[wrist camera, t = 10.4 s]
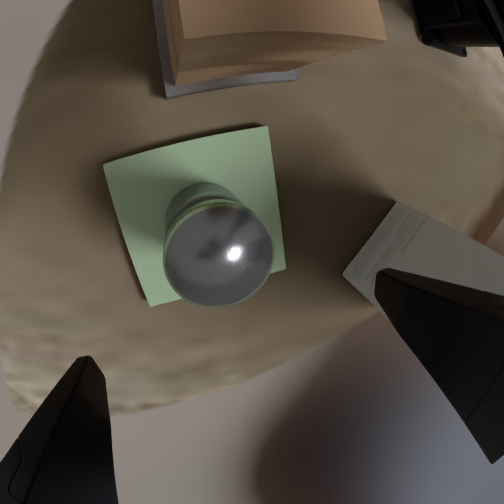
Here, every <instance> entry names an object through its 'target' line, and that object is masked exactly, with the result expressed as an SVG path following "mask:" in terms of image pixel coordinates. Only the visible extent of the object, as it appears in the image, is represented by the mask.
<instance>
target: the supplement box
mask: <svg viewBox="0 0 504 504" xmlns="http://www.w3.org/2000/svg"><path fill="white" fill-rule="evenodd" d="M384 268H392V269H396V270H401V271H405V272H409V273H413V274H417V275H422V276H426V277H430V278H434V279H438V280H442V281H446V282H450V283H454V284H458V285H463V286H467V287H471V288H475V289H479V290H482V291H487V292H491V293H495V294H499V295H503V296H504V257H503V256H501V255H500V254H498V253H496V252H494V251H493V250H491V249H489V248H487V247H486V246H484V245H483V244H481V243H479V242H477V241H475V240H473V239H472V238H470V237H468V236H466V235H464V234H462V233H461V232H459V231H457V230H455V229H453V228H451V227H449V226H447V225H445V224H443V223H441V222H439V221H437V220H435V219H433V218H431V217H429V216H427V215H425V214H423V213H421V212H419V211H417V210H414V209H412V208H410V207H408V206H405V205H403V204H401V203H399V202H396V203H395V205H394V206H393V207H392V208H391V210H390V211H389V213H388V214H387V215H386V217H385V218H384V219H383V221H382V222H381V224H380V225H379V226H378V227H377V229H376V230H375V231H374V233H373V234H372V235H371V237H370V238H369V239H368V240H367V242H366V243H365V244H364V246H363V247H362V248H361V250H360V251H359V252H358V253H357V255H356V256H355V257H354V259H353V260H352V261H351V262H350V264H349V265H348V266H347V268H346V269H345V270H344V272H343V277H344V278H345V279H346V280H348V281H349V282H350V283H351V284H352V285H353V286H354V287H355V288H356V289H357V290H358V291H359V292H360V293H361V294H362V295H364V296H365V297H366V298H367V299H368V300H369V301H370V302H371V303H372V304H373V305H374V306H375V307H376V308H377V309H378V310H379V311H381V312H382V313H383V314H384V315H385V316H386V317H387V315H386V314H385V312H384V311H383V309H382V308H381V306H380V305H379V303H378V302H377V300H376V298H375V295H374V289H375V278H376V273H377V272H378V271H379V270H382V269H384ZM387 318H388V317H387ZM388 319H389V318H388Z"/></svg>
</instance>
